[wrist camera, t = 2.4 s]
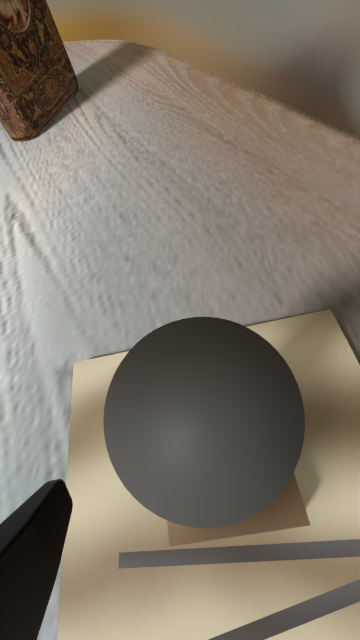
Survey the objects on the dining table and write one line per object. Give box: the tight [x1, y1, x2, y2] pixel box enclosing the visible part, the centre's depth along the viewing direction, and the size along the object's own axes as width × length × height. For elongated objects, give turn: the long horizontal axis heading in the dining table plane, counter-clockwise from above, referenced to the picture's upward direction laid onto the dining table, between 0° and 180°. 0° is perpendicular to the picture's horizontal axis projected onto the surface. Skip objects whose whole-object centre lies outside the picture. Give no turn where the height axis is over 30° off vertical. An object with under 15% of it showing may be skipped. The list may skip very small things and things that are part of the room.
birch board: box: [57, 309, 360, 640], centre depth 13 cm, size 24×18×1 cm
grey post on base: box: [103, 317, 310, 547], centre depth 9 cm, size 7×6×12 cm
